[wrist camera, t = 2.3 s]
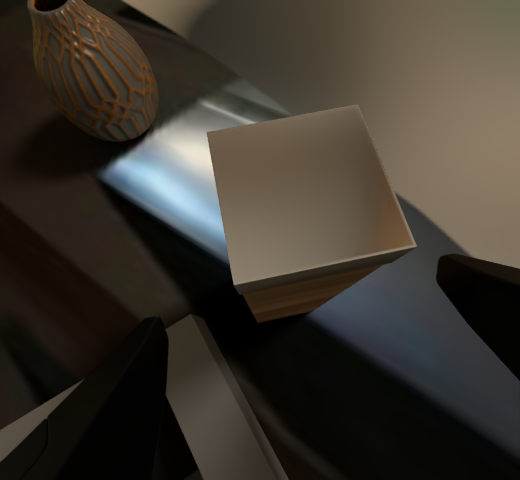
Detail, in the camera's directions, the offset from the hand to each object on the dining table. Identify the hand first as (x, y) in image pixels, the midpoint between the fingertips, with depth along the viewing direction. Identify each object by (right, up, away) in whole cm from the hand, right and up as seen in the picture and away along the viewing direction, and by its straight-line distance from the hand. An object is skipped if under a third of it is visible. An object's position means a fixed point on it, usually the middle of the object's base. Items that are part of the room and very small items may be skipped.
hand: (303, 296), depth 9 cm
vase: (-12, +11, +14) cm, 22 cm away
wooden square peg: (0, -1, +9) cm, 9 cm away
